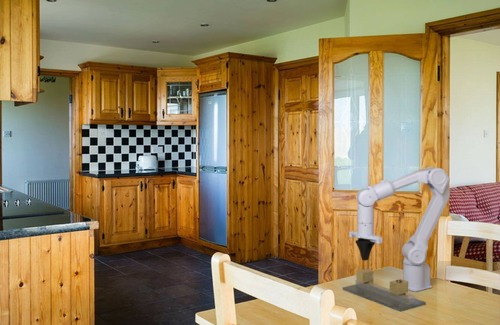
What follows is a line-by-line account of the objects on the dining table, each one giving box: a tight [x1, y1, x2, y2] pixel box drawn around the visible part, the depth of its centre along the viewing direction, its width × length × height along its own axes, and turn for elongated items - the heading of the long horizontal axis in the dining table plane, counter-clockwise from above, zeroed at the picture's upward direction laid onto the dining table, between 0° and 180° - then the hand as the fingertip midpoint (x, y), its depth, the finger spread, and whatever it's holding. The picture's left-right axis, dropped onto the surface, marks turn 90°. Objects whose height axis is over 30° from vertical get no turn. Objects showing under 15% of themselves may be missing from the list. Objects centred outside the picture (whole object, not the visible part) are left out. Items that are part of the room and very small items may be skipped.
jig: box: [342, 268, 426, 312], centre depth 163 cm, size 12×26×7 cm, turn 32°
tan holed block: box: [389, 278, 409, 295], centre depth 158 cm, size 6×3×6 cm, turn 122°
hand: (365, 259), depth 174 cm, fingers closed
